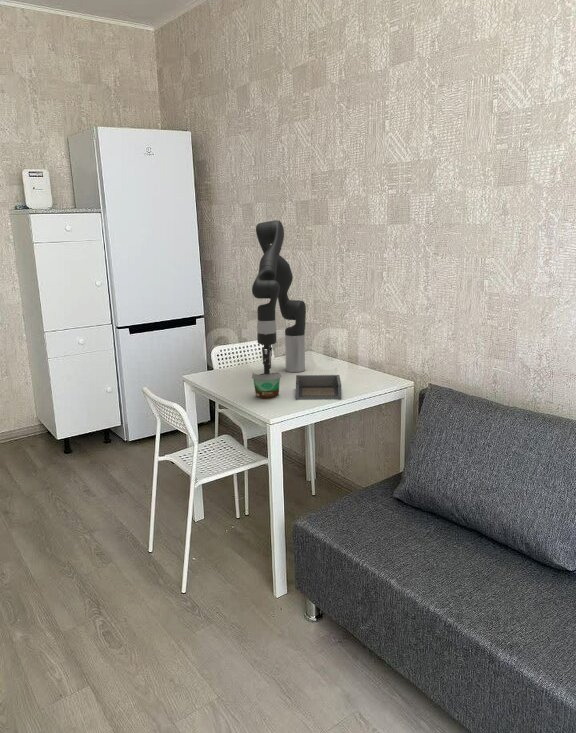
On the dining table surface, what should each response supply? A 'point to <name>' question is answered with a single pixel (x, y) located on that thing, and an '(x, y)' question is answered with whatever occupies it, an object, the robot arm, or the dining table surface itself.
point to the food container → (266, 385)
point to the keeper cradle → (318, 387)
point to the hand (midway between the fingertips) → (267, 371)
